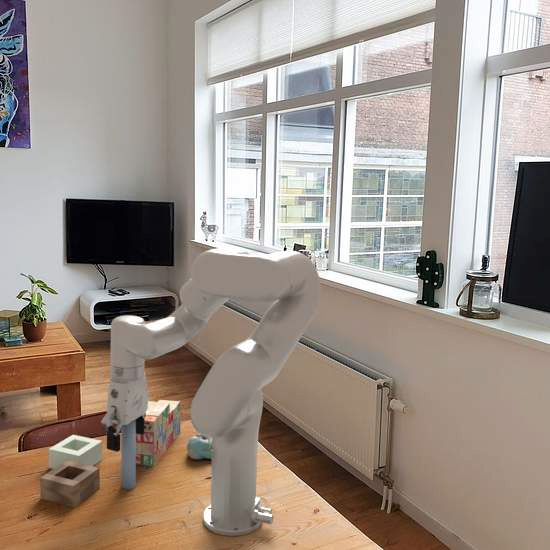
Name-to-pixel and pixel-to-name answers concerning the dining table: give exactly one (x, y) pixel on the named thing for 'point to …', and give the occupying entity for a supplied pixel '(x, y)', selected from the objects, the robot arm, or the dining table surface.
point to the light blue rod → (128, 455)
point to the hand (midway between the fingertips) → (126, 441)
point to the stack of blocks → (157, 431)
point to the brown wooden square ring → (70, 483)
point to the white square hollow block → (76, 451)
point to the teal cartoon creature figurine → (199, 447)
